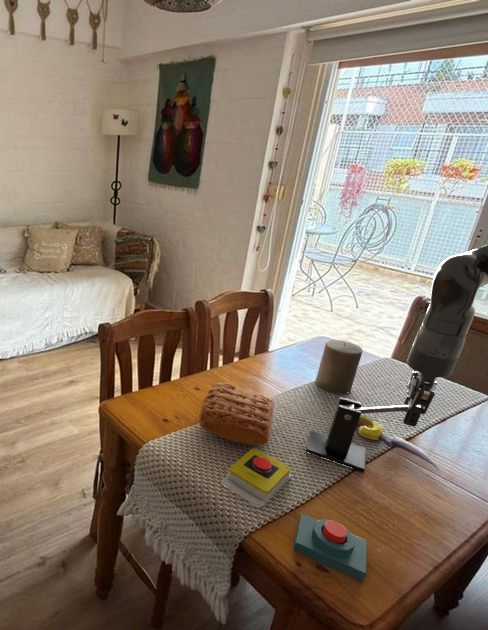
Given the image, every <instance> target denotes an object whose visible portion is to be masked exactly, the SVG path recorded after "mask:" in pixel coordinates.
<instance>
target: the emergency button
mask: <svg viewBox="0 0 488 630" xmlns="http://www.w3.org/2000/svg"><path fill="white" fill-rule="evenodd" d="M291 478H292V473H291V468H290V466H288V465H287V464H286V463H283V462H281V461H280V460H278V459H276V458H274V457H273V456H270V455H269V454H266V453H265V452H263V451H262V450H260V449H258V448H255V447H254V448H251V449H250V450H249V451H248V452H247V453H245V454H244V455H243V456H242V457H240V458H239V459H237V461H235V462H234V463H233V464H232V465H231V466H230V467H229V469H228V473H227V475H226V476H225V477H224V478H222V480H221V484H222V483H223V484H224V485H225V486H226V487H228V488H229V489H231V490H232V491H234V492H235V493H236V494H238V495H240V496H242V497H243V498H245V499H246V500H247V501H249V502H250V503H252V504H253V505H255V506H258V507H262V506H263V507H265V505H266V504H267V503H268V502H269V501H270V500H271V499H272V498H273V497H274V496H275V495H276V494H277V493H278V492H279V491H280V490H281V489H282V488H283V487H284V486H285V485H286V484H287V483H288V482H289V481H290V480H289V479H291ZM288 480H289V481H288ZM287 481H288V482H287ZM286 482H287V483H286ZM285 483H286V484H285ZM284 484H285V485H284ZM283 485H284V486H283ZM282 486H283V487H282ZM281 487H282V488H281ZM280 488H281V489H280ZM279 489H280V490H279ZM278 490H279V491H278ZM277 491H278V492H277ZM276 492H277V493H276ZM275 493H276V494H275ZM236 494H235V495H236ZM274 494H275V495H274ZM238 495H237V496H238ZM273 495H274V496H273ZM272 496H273V497H272ZM271 497H272V498H271ZM270 498H271V499H270ZM269 499H270V500H269ZM268 500H269V501H268ZM247 501H246V502H247ZM267 501H268V502H267ZM266 502H267V503H266ZM250 503H249V504H250ZM265 503H266V504H265ZM253 505H252V506H253ZM255 506H254V507H255ZM263 507H262V508H263Z"/></svg>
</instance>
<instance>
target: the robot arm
mask: <svg viewBox="0 0 488 630" xmlns="http://www.w3.org/2000/svg"><path fill="white" fill-rule="evenodd" d="M487 285H488V244H486V245H483V246H481V247H478V248H475V249H472V250H470V251H466V252H464V253H460V254H456V255H452V256H449V257H447V258H446V259H445V260H443V261H442V262H441V263H440V264H439V266H438V268H437V270H436V272H435V273H434V276H433V280H432V285H431V291H430V302H429V303H430V304H429V306H428V308H427V310H426V313H425V315H424V318H423V320H422V323H421V326H420V328H419V329H418V331H417V332H416V335H415V338H414V341H413V343H412V344H411V345H412V346H411V348H410V351H409V353H408V357H407V359H406V364H407V366H408V367H409V368H410V369H412V371H411V372H410V373H411V374H410V377H409V380H408V383H407V385H406V389H407V390H406V391H405V392H406V393H405V394H406V397H405V399H404V401H403V404H402V405H408V400H410V399H411V400H410V403H409V405H408V410H407V411H403V412H405V415H404V418H403V421H402V422H403V424H404V425H407V426H410V427H416V426H417V425H418V422H419V420H420V417H421V415H423V416H425V414H426V413H427V411H428V409H429V407H430V406H431V404H432V401H433V399H434V397H435V396H436V392H435V390H436V388H437V385H438V382H437V381H436V380H437V379H438V378H448V377H451V375H452V374H453V372H454V369H455V367H456V364H457V362H458V360H459V357H460V355H461V353H462V350H463V348H464V346H465V342H466V337H467V334H468V333H469V329H470V327H471V325H472V323H473V321H474V318H475V313H476V309H475V307H474V306H473V305H474V302H475V298H476V295H477V293H478V291H479V289H480V288H482V287H486V286H487Z"/></svg>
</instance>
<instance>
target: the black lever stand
mask: <svg viewBox="0 0 488 630" xmlns="http://www.w3.org/2000/svg"><path fill="white" fill-rule="evenodd" d="M347 404H354V405H355V408H361V407H362V406H363V403H362V402H361V401H356V400H353V399H350V398H347V397H342V396H340V397H339V400H338V403H337V407H336V410H335V411H336V413H335V412H334V416H333V419H332V422H331V426H330V428H329V431H328V434H326V433H321V432H319V431H316V430H312V429H311V430H310V432H309V436H308V440H309V441H307V445H306V450H305V453H306V452H309V453H311V454H314V455H317V456H319V457H323V458H326V459H329V460H331V461H335V462H337V463H340V464H344V465H346V466H349V467H352V468H353V469H352V471H356V472H359V473H361V474H364V473H365V469H366V447H364V446H361V445H358V444H356V443H352V442H353V440H354V436H355V433H356V430H357V428H358V427H357V424H358V422H359V419H360V416H361V415H362V413H361V411H359V410H356V409H352V408H349V407H345V406H342V405H347ZM319 457H318V458H319Z"/></svg>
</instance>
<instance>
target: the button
mask: <svg viewBox="0 0 488 630" xmlns="http://www.w3.org/2000/svg"><path fill="white" fill-rule="evenodd" d="M345 528H346V527H345V526H344V525H342V524H341V523H339V522H337V521H334V520H331V521H327V522H326V523H325V525H324V528H323V535H324V536H325V537H326V538H327V539H328V540H329V541H331V542H333V543H336V544H342V543H344V542H345V539H346V537H347V530H348V529H347V528H346V529H347V530H346V529H345Z"/></svg>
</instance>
